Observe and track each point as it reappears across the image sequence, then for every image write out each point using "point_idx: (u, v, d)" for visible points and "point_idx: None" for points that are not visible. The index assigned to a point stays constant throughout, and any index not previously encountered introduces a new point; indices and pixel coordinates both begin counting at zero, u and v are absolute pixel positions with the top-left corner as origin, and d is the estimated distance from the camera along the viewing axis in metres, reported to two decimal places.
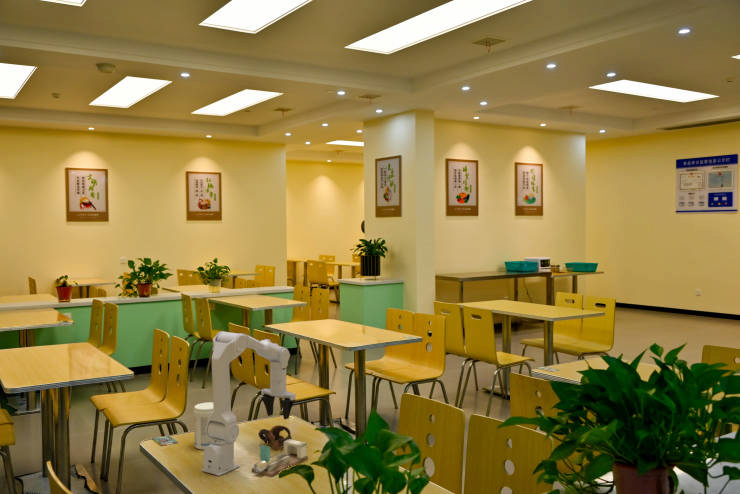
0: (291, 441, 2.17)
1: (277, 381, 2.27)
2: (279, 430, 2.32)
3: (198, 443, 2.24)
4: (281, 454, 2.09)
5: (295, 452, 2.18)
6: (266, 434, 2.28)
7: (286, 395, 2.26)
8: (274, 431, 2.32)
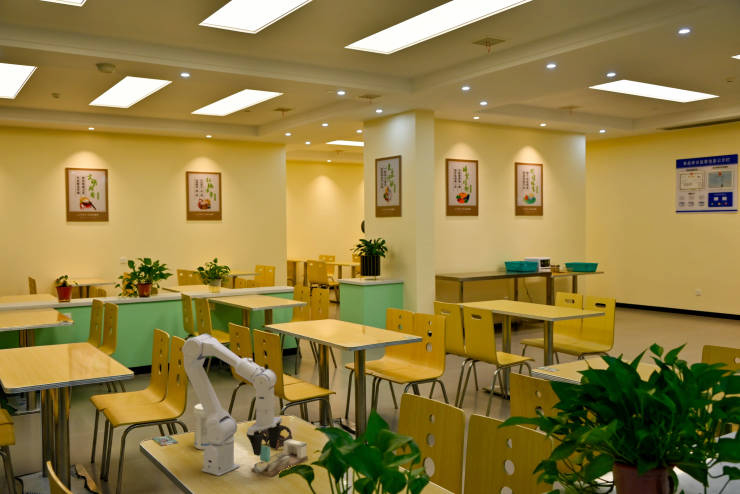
0: (291, 441, 2.17)
1: (256, 409, 2.03)
2: None
3: (198, 443, 2.24)
4: (281, 454, 2.09)
5: (295, 452, 2.18)
6: (267, 434, 2.28)
7: None
8: None
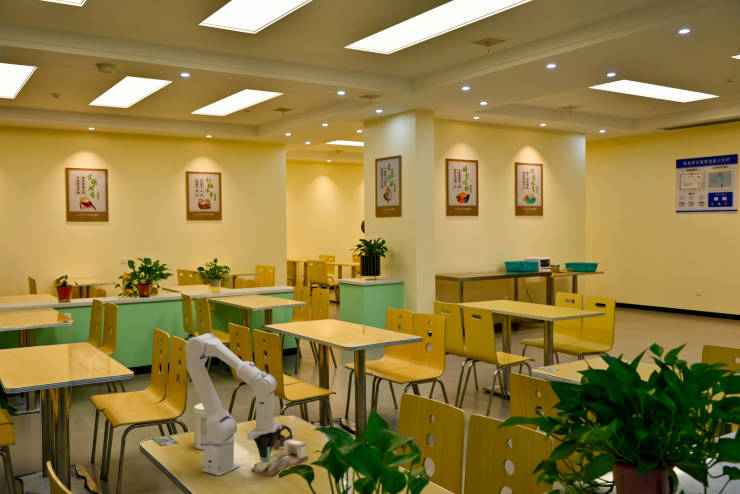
0: (291, 441, 2.17)
1: None
2: (280, 429, 2.33)
3: (198, 443, 2.24)
4: (281, 454, 2.09)
5: (295, 452, 2.18)
6: None
7: None
8: None
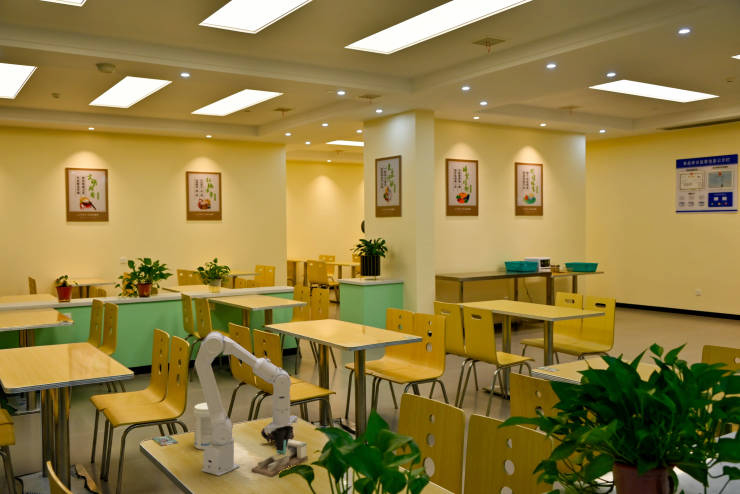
0: (291, 441, 2.17)
1: None
2: None
3: (198, 443, 2.24)
4: (296, 447, 2.16)
5: None
6: (269, 433, 2.29)
7: None
8: None
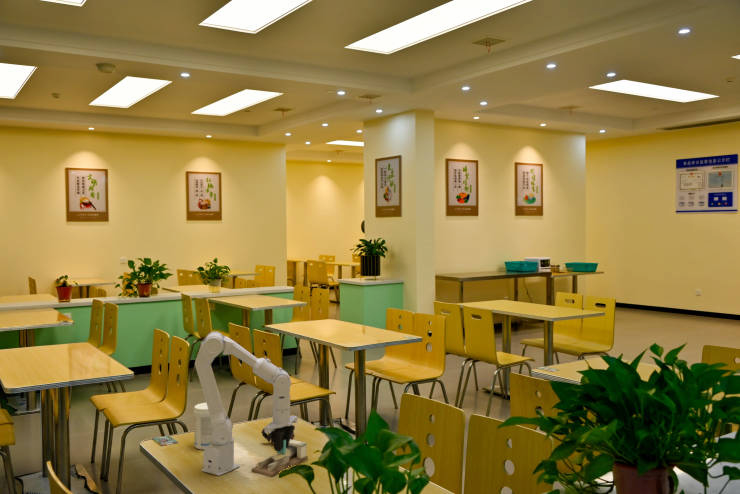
0: (291, 441, 2.17)
1: None
2: None
3: (198, 443, 2.24)
4: (296, 447, 2.16)
5: None
6: None
7: None
8: None
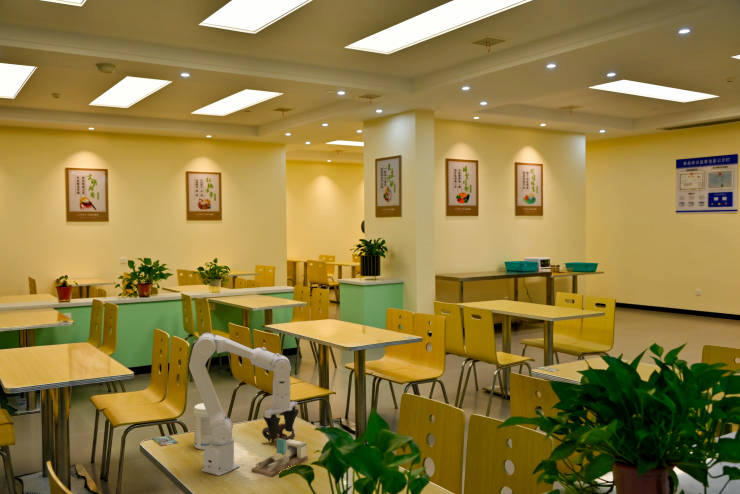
0: (291, 441, 2.17)
1: None
2: (282, 428, 2.35)
3: (198, 443, 2.24)
4: (296, 447, 2.16)
5: None
6: None
7: None
8: None
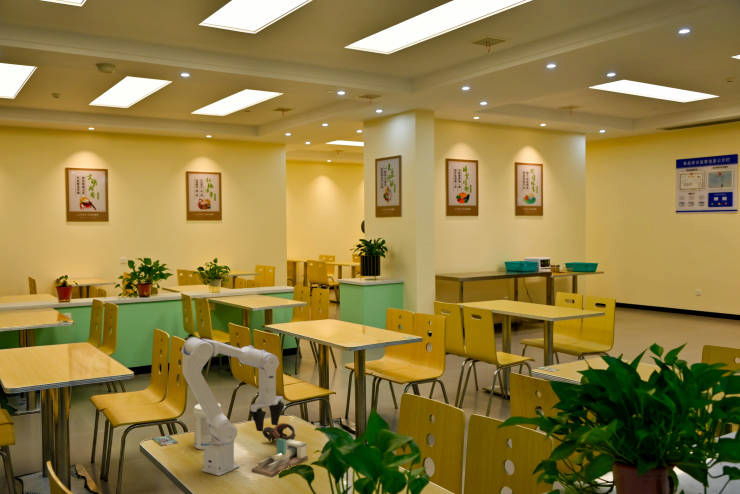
0: (291, 441, 2.17)
1: None
2: (283, 428, 2.35)
3: (198, 443, 2.24)
4: (296, 447, 2.16)
5: None
6: (270, 432, 2.30)
7: None
8: (278, 429, 2.35)
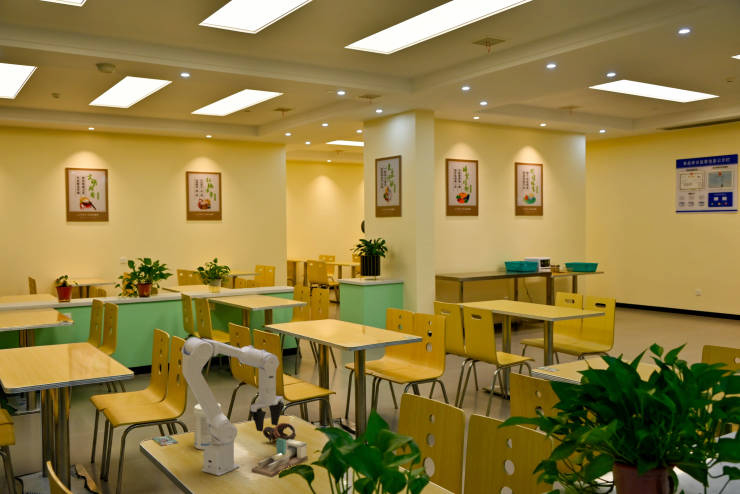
0: (291, 441, 2.17)
1: None
2: (283, 427, 2.35)
3: (198, 443, 2.24)
4: (296, 447, 2.16)
5: None
6: (271, 432, 2.30)
7: None
8: (278, 429, 2.35)
